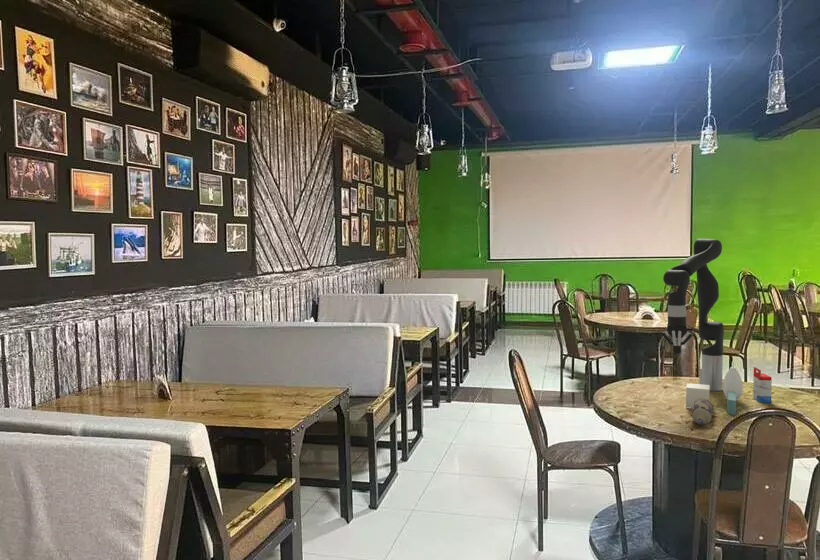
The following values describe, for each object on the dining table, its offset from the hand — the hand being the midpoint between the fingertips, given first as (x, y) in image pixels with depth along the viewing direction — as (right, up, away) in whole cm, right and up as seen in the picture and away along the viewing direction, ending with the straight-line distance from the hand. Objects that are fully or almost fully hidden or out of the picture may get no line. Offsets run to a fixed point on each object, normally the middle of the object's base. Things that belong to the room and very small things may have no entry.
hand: (677, 353), depth 259 cm
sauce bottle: (+28, -22, +5) cm, 36 cm away
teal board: (+19, -23, -8) cm, 31 cm away
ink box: (+41, -22, +6) cm, 47 cm away
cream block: (+8, -23, -2) cm, 24 cm away
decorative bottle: (-1, -24, -23) cm, 33 cm away
